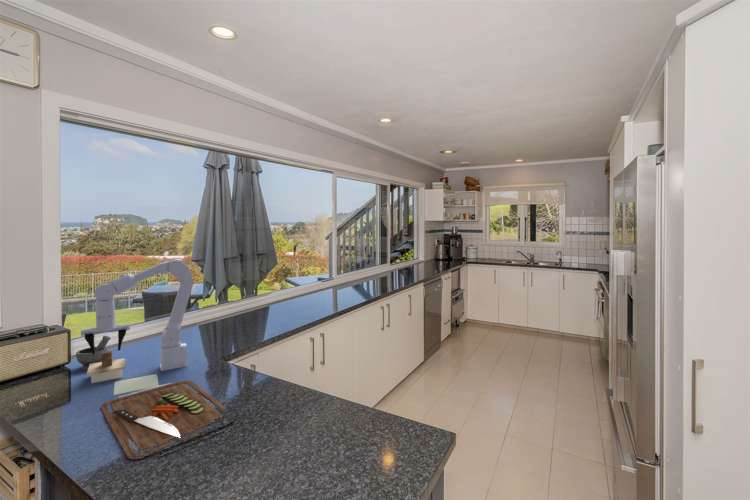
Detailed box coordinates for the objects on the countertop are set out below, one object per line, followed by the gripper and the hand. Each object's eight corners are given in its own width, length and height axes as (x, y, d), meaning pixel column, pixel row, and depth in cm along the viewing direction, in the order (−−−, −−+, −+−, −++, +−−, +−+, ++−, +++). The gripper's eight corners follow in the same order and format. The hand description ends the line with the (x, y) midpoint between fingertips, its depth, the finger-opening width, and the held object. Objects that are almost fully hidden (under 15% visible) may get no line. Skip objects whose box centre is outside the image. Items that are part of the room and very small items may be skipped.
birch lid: (125, 360, 142) (124, 345, 141) (124, 368, 133) (124, 353, 132) (89, 365, 135) (89, 350, 135) (86, 375, 126) (86, 359, 126)
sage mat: (156, 374, 137) (156, 373, 137) (158, 386, 126) (158, 385, 126) (114, 382, 130) (114, 381, 130) (113, 396, 119) (113, 395, 119)
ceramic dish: (122, 371, 141) (122, 361, 141) (121, 378, 133) (121, 368, 133) (93, 376, 136) (93, 365, 135) (91, 384, 128) (90, 373, 128)
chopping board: (243, 425, 102) (243, 415, 102) (133, 470, 83) (132, 457, 82) (187, 380, 133) (187, 372, 133) (97, 405, 114) (97, 395, 114)
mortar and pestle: (77, 373, 138) (76, 342, 138) (75, 366, 145) (74, 337, 145) (112, 366, 146) (112, 337, 145) (110, 360, 153) (109, 332, 152)
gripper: (79, 320, 126) (80, 358, 127) (129, 315, 134) (130, 350, 135) (81, 316, 132) (82, 352, 132) (129, 312, 140) (130, 346, 141)
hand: (106, 351), depth 134 cm, fingers open, 7 cm apart
